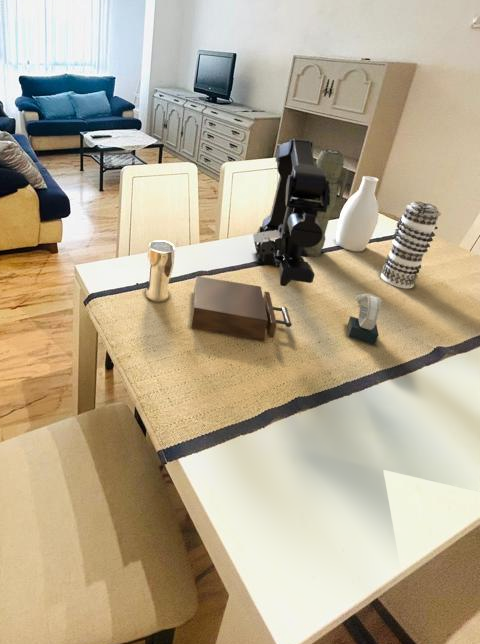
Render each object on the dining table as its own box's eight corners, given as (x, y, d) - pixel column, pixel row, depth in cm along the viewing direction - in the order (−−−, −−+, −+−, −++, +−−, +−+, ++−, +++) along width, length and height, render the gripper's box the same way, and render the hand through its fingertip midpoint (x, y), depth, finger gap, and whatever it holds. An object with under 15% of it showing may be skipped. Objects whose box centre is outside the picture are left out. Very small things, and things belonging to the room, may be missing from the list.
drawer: (283, 308, 100) (286, 294, 98) (292, 342, 89) (296, 327, 87) (206, 295, 104) (208, 282, 102) (205, 326, 92) (208, 311, 91)
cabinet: (256, 305, 102) (260, 286, 100) (263, 341, 90) (268, 320, 87) (193, 294, 105) (196, 275, 103) (191, 328, 93) (194, 307, 90)
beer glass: (173, 291, 106) (179, 243, 100) (165, 305, 100) (170, 255, 94) (149, 284, 109) (154, 237, 103) (140, 297, 103) (144, 248, 97)
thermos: (327, 259, 126) (357, 157, 114) (289, 251, 130) (313, 151, 117) (324, 247, 134) (352, 150, 121) (288, 240, 138) (311, 145, 125)
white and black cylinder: (383, 268, 123) (408, 196, 114) (418, 281, 117) (447, 206, 108) (375, 279, 117) (401, 203, 108) (411, 293, 111) (442, 214, 102)
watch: (371, 328, 96) (384, 292, 92) (375, 350, 89) (390, 311, 85) (346, 321, 98) (358, 285, 94) (348, 341, 91) (361, 303, 87)
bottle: (375, 254, 131) (398, 184, 122) (342, 252, 131) (363, 183, 122) (356, 238, 142) (377, 173, 132) (326, 237, 142) (345, 171, 132)
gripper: (254, 205, 95) (244, 259, 101) (264, 240, 78) (251, 303, 84) (302, 211, 93) (288, 266, 99) (323, 248, 76) (305, 312, 82)
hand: (282, 285), depth 91 cm, fingers closed
